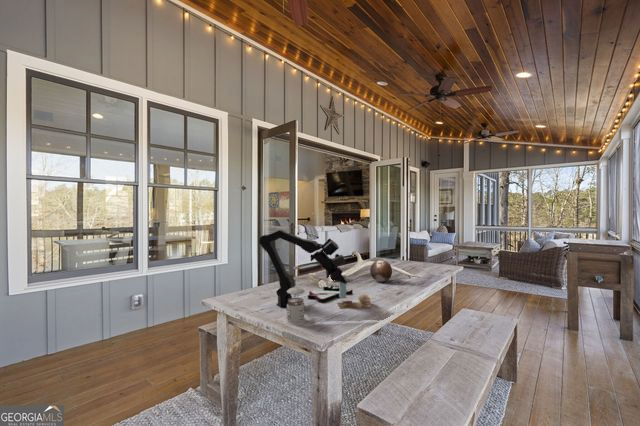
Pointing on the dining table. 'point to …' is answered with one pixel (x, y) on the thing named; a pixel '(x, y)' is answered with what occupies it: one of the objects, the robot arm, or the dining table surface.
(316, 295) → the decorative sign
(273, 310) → the dining table surface
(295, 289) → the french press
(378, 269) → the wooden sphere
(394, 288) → the dining table surface
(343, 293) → the plank
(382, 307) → the dining table surface
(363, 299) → the rack
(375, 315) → the dining table surface
